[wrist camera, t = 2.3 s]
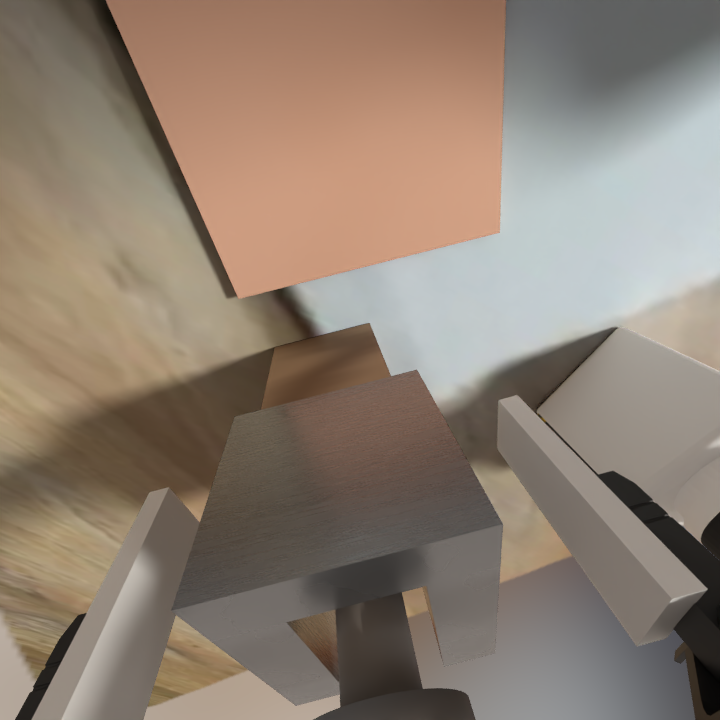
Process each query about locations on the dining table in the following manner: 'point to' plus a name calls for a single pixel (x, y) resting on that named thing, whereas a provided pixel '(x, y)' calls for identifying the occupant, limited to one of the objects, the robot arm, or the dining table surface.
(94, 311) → the dining table surface
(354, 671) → the knob on wooden block
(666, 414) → the medicine bottle
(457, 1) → the tile
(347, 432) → the c link
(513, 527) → the dining table surface
